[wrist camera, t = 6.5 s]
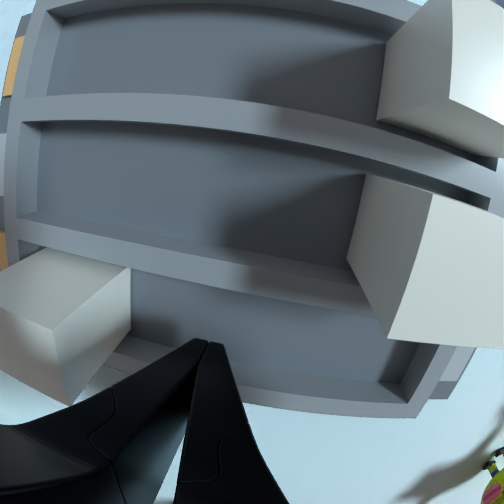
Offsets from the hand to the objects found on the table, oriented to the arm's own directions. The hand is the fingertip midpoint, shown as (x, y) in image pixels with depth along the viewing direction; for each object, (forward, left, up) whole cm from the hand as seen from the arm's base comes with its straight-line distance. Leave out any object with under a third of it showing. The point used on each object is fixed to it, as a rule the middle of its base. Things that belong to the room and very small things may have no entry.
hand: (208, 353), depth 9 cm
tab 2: (+8, -5, -2) cm, 10 cm away
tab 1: (0, +5, -2) cm, 5 cm away
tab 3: (+4, -5, -2) cm, 7 cm away
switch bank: (+4, 0, -3) cm, 5 cm away
